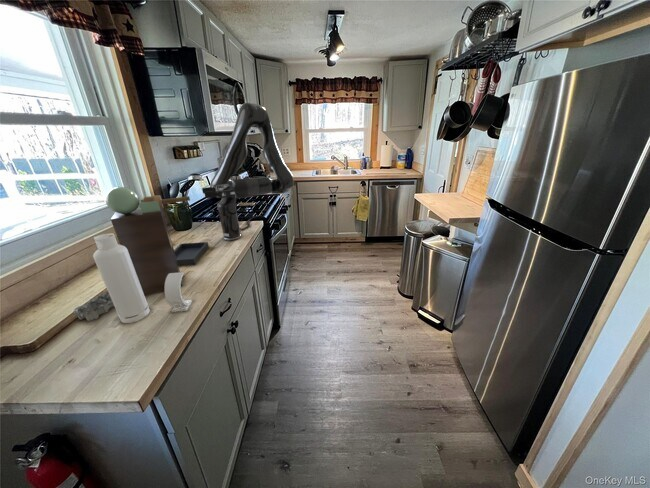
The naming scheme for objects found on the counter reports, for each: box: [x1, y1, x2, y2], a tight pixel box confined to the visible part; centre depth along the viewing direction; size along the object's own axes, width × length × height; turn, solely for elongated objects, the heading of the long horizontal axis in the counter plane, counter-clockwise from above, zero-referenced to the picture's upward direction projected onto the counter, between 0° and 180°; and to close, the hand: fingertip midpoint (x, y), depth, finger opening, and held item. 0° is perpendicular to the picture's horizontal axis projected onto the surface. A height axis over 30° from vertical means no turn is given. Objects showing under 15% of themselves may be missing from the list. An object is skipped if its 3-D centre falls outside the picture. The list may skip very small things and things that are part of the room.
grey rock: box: [73, 292, 115, 322], centre depth 87 cm, size 11×8×4 cm
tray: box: [173, 241, 210, 267], centre depth 125 cm, size 20×14×3 cm
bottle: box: [92, 232, 151, 324], centre depth 80 cm, size 8×8×28 cm
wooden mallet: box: [142, 194, 191, 210], centre depth 93 cm, size 5×14×5 cm, turn 120°
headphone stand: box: [164, 271, 193, 313], centre depth 86 cm, size 5×6×12 cm
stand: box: [110, 208, 183, 297], centre depth 96 cm, size 10×14×30 cm
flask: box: [104, 186, 161, 214], centre depth 88 cm, size 9×14×9 cm, turn 120°
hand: (203, 193), depth 99 cm, fingers open, 8 cm apart
